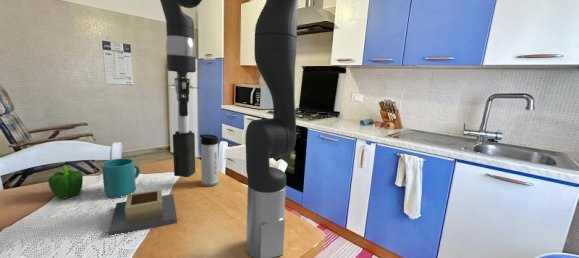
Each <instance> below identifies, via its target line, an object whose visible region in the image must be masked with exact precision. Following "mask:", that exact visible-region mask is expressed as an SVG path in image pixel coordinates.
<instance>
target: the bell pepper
mask: <svg viewBox="0 0 579 258" xmlns="http://www.w3.org/2000/svg"><path fill="white" fill-rule="evenodd" d="M62 170H63V171H56V172H55V173H53V174H52V175H51V176H49V178H48V187H49V188H50V190H51V193H52V194H53V196H54V197H56V198H57V199H59V198H63V199H66V198H65V197H68V198H69V197H74V196H73V195H75V196H77V195H76V194H78V193H79V194H80V193H81V192H82V188H83V184H84V183H83V180H84V179H83V178H84V177H83V173H82V171H81V170H72V169H68V166H67V165H66V164H65V165H63V166H62ZM79 194H78V195H79Z"/></svg>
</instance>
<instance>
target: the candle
mask: <svg viewBox="0 0 579 258" xmlns="http://www.w3.org/2000/svg"><path fill="white" fill-rule="evenodd" d="M181 97H184V95H181ZM189 113H190V111H189V110H188V115H187V116H180V115H179V103H178V102H177V124H178V125H177V126H178V127H177V129H178V130H177V131H175V133H173V134H172V148H173V149H172V150H173V151H172V152H173V154H172V155H173V173H174V174H173V175H174V177H182V178H183V177H184V178H189V177H191V176H192V175H194V174H196V136H195V133H194V132H193V131H192V130H190V124H189V123H190V120H189V118H190V117H189Z"/></svg>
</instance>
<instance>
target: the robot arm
mask: <svg viewBox="0 0 579 258" xmlns="http://www.w3.org/2000/svg"><path fill="white" fill-rule="evenodd" d="M159 1H160V5H161V7H162V11H163V15H164V18H165V23H166V24H165V25H166V27H165V28H166V42H165V43H166V44H165V47H166V49H165V50H166V51H165V52H166V70H167V71H169V72H175V73H176V77H173V78H174V80H173V81H174V82H173V83H174V85H175V86H174V87H175V94H176V101H177V104H178V103H179V115H180V116H187V115H188V111H189V101H190V99H189V98H190V93H191V92H190V91H191V90H190V85H191V79H190V78H188V73H192V74H193V73H195V72H196V70H197V68H196V67H197V66H196V65H197V64H196V61H197V60H196V57H197V56H196V55H197V54H196V43H195V24H194V23H195V22H194V20H193V18H192V17H190V16H189V15H188V14H186V13H185V12H184V11H183V10H182V8H181V7H183V8H186V9H193V8H196V7H198V6H199V5H200V4H201V2H202V1H203V0H159ZM298 8H299V0H266V1H265V4H264V6H263V7H262V9H261V11H260V13H259V16H258V18H257V20H256V24H255V29H254V61H255V64H256V67H257V69H258V71H259V73H260V75H261V77H262V79H263V81H264V83H265V85H266V86H267V89H268V90H269V94H270V96H271V100H272V101H271V102H272V108H273V109H272V110H273V111H272V113H273V115H272V118H260V119H253V120H251V121H250V122H249V123H248V125H247V127H246V130H245V139H244V140H245V163H246V164H245V166H246V167H245V168H246V169H245V170H246V176H247V200H246V201H247V205H246V208H247V209H246V210H247V211H246V244H245V245H246V247H245V248H246V251H247V253H248V254H249V256H251V257H253V258H277V257H280V256H282V255H284V245H285V244H284V243H285V241H284V240H285V230H286V229H285V227H286V225H285V224H286V220H285V207H286V192H287V191H286V189H287V187H286V186H287V174H286V173H285V171H284V170H282V169H279V168H278V167H273V166H270V160H271V159H274V158H280V157H285V156H288V155H290V154H292V152H293V151H294V150H295V149H294V148H295V146H296V141H297V120H296V102H295V101H296V100H295V97H296V96H295V93H296V92H295V90H296V89H295V88H296V86H295V85H296V83H295V81H296V80H295V78H296V59H297V43H298V41H297V40H298V39H297V38H298V37H297V36H298V34H297V33H298V32H297V31H298V25H297V24H298V10H299V9H298ZM181 95H184V97H181Z"/></svg>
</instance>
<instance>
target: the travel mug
mask: <svg viewBox="0 0 579 258" xmlns="http://www.w3.org/2000/svg"><path fill="white" fill-rule="evenodd" d="M199 138H200V141H201V142H200V156H201V157H200V158H201V160H200V161H201V162H200V163H201V166H200V167H201V168H200V169H201V185H202V186H203V187H214V186H217V185H218V183H219V138H218V136H217V135H215V134H200V135H199Z"/></svg>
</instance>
